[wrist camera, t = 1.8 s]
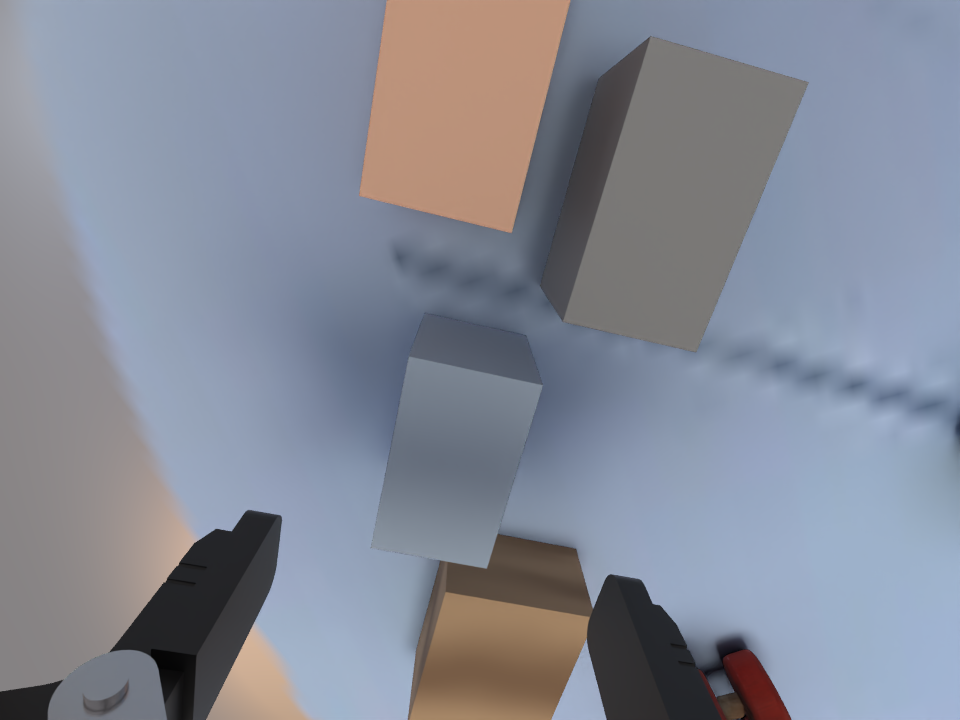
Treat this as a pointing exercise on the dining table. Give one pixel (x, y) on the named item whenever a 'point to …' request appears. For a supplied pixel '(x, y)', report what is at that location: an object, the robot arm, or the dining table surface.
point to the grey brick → (665, 190)
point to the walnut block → (501, 635)
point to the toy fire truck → (748, 690)
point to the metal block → (456, 441)
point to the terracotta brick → (460, 105)
